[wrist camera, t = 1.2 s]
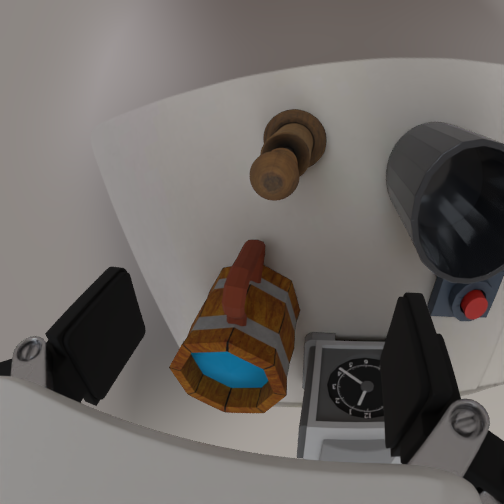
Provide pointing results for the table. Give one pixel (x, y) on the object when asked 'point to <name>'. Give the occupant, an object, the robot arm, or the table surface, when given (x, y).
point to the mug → (241, 338)
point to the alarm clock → (342, 402)
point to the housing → (460, 296)
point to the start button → (474, 304)
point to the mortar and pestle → (287, 153)
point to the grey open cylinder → (451, 199)
